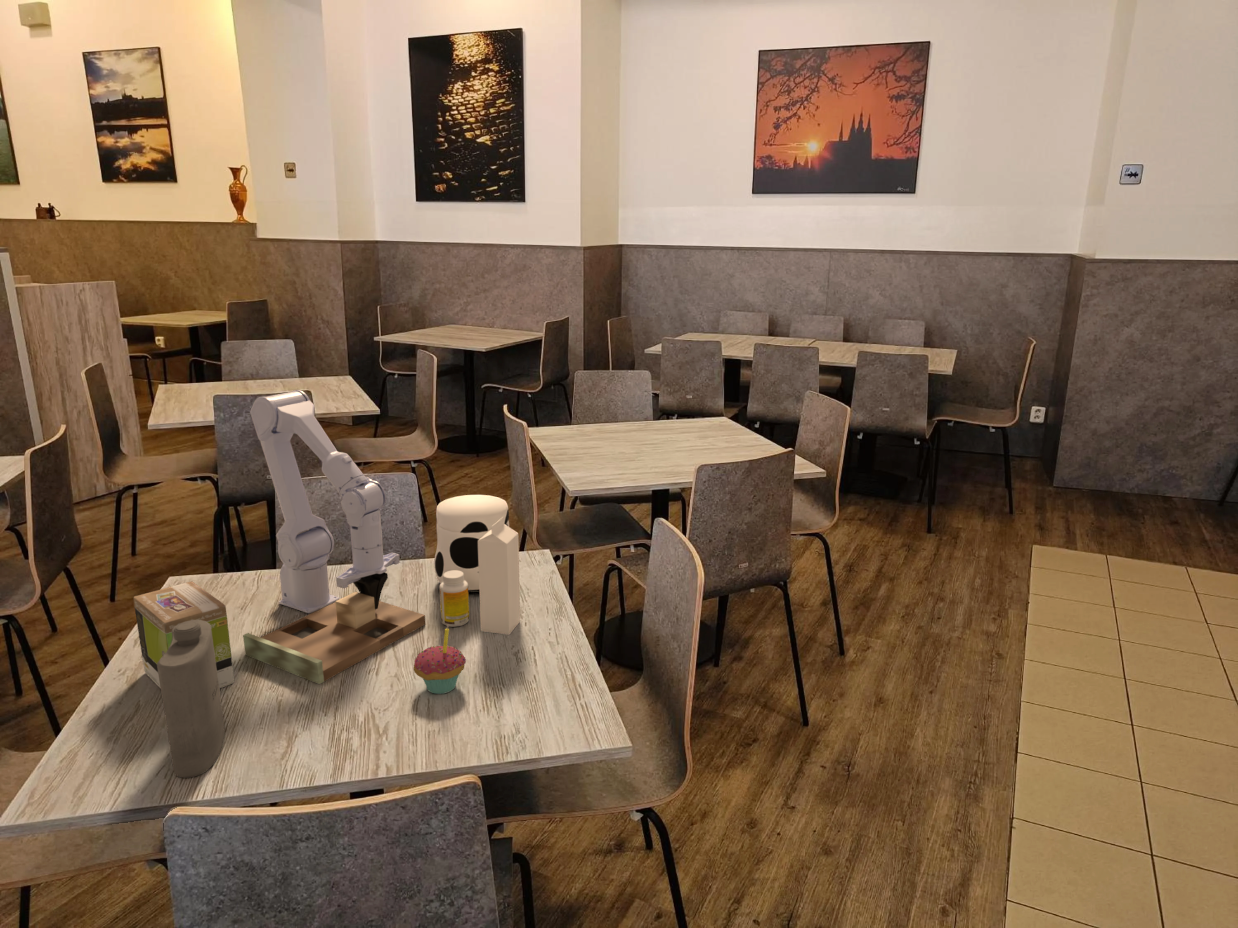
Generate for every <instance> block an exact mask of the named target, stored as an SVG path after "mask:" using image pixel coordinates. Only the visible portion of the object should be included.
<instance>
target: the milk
mask: <svg viewBox="0 0 1238 928" xmlns="http://www.w3.org/2000/svg"><path fill="white" fill-rule="evenodd" d="M519 546H520V544H519V533H518V532H517V531H516V530H514V529H513V528H512V527H510V526H509V527H508V526H507V525H505V524H504V517H502V518H501V519H500V520H498V521H497V522H496V523H495V524H494V525H492V530H490V531H489V532H487V533H486V534H485V535H484V536H483V537H482V538H480V539H479V540H478V563H479V591H480V592H479V613H480V631H481V632H486V633H493V634H498V635H499V634H500V635H506V636H509V635H511V634H512V632H513V631H514V629H516V627H517V626H518V625H519V623H520V622H521V601H520V600H521V597H520V593H521V592H520V557H519V556H520V552H519V550H520V548H519Z"/></svg>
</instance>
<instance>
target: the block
mask: <svg viewBox="0 0 1238 928" xmlns="http://www.w3.org/2000/svg"><path fill="white" fill-rule="evenodd" d="M335 602H336V613H337V623H340V624H343V625H346V626H349V627H352V628H355V629H357V628H359V627H360V626H362V625H364V624H366V623H368V622H370V621H372V620H374V619H375V618H376V617H375V604H374V597H371V596H368V595H365V594H361V593H360V592H359V591H353V592H351V593H349V594H347V595H346V596H343V597H342V598H339V600H337V601H335ZM335 602H334V603H335Z"/></svg>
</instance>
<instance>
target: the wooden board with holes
mask: <svg viewBox="0 0 1238 928" xmlns="http://www.w3.org/2000/svg"><path fill="white" fill-rule="evenodd" d="M375 617H376V618H375V619H374V620H372V621H370V622H368V623H366V624H364V625H362V626H360V627H359V628H357V629H355V628H352V627H349V626H346V625H343V624H340V623H337V613H336V602H334V603H331V604H329V605H327V606H325V607H323V608H321V609H319V610H316V611H314V612H312V613H308V614H307V615H305V616H303V617H301V618H299V619H297V620H294V621H292V622H290V623H288V624H286V625H284V626H282V627H280V628H278V629H275V630H272V631H271V632H269V633H267V634H265V635H263V636H261V637H260V636H258V635H255V634H252V633H250V632H246V633H244V634H243V635H242V636H243V637H242V638H243V645H244V646H243V647H244V652H245V653H244V654H245V656H248V657H249V658H253V659H255V660H257V661H260V662H261V663H265V664H267V665H270V666H273V667H275V668H278V669H280V670H283V671H285V672H287V673H291V674H293V675H296V676H297V677H300V678H303V679H304V680H308V681H310V682H312V683H316V684H317V685H321V684H322V683H324V682H326V681H327V680H329V679H331V678H334V677H335V676H337V675H338V674H340V673H342V672H343V671H346V670H347V669H349V668H350V667H352V666H353V667H354V665H356V664H357V663H358V664H359V663H360V662H362V661H363V660H365V659H367V658H368V657H371V656H372V655H374V654H375V653H377V652H379V651H381V650H383V649H385V648H386V647H388V646H390V645H391V644H393V643H395V642H397V641H398V640H400V639H402V638H404V637H405V636H407V635H409V634H411V633H412V632H414V631H416V630H418V629H420V628H422V627H423V626H425V625H426V615H425V614H422V613H419V612H417V611H414V610H410V609H406V608H405V607H400V606H397V605H394V604H392V603H391V604H390V603H387V602H385V601H381V600H379V605H378V609H376V610H375Z"/></svg>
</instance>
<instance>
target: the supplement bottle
mask: <svg viewBox="0 0 1238 928" xmlns="http://www.w3.org/2000/svg"><path fill="white" fill-rule="evenodd" d="M469 597H470V596H469V592H468V583H467V582H466V581H465V580H464V574H463V572H461V571H458V570H452V571H448V572H445V573H444V574H443V582H442V583H439V602H440V606H439V607H440V619H441V623H442V624H443V625H445V626H446V627H447V626H448V625H449V626H448V627H451V628H452V627H453V628H455V627H461V626H464V625H466V624H467V623H469V621H470V598H469Z"/></svg>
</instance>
